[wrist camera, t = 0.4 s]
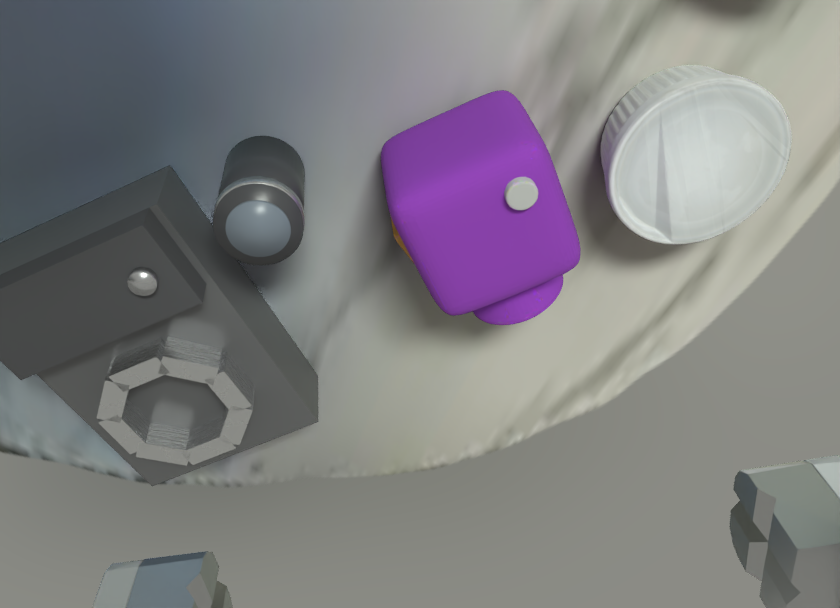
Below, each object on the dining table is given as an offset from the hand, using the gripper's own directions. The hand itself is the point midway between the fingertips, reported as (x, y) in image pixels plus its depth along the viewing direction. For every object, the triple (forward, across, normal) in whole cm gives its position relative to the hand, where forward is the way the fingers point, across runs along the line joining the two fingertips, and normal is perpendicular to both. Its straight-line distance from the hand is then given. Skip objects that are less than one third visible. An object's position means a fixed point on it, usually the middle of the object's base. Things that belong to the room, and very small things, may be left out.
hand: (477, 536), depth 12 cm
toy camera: (+39, -5, +10) cm, 41 cm away
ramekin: (+39, -18, +8) cm, 44 cm away
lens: (+38, +9, +7) cm, 40 cm away
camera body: (+39, +18, +17) cm, 46 cm away
